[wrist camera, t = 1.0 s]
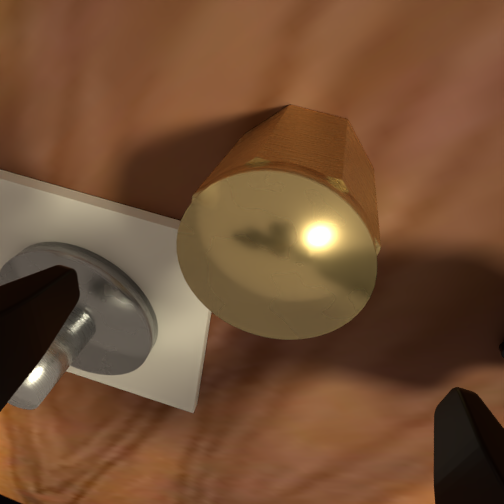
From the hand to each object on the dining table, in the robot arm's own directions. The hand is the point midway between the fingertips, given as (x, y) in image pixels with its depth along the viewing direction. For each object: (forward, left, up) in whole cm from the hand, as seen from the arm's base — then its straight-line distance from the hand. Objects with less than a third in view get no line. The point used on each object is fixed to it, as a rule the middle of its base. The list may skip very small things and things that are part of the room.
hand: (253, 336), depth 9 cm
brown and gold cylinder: (0, 0, -9) cm, 9 cm away
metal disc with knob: (+11, +12, -9) cm, 18 cm away
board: (+12, +12, -9) cm, 19 cm away
